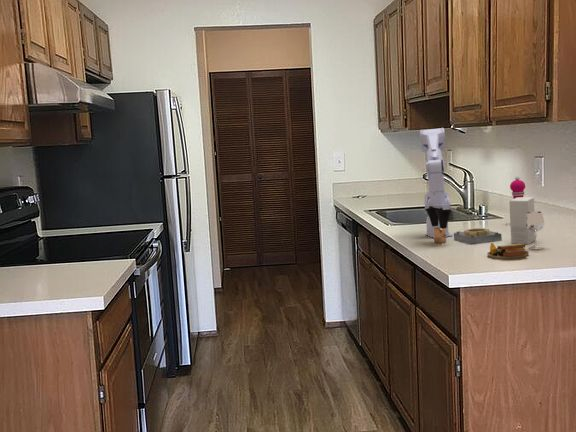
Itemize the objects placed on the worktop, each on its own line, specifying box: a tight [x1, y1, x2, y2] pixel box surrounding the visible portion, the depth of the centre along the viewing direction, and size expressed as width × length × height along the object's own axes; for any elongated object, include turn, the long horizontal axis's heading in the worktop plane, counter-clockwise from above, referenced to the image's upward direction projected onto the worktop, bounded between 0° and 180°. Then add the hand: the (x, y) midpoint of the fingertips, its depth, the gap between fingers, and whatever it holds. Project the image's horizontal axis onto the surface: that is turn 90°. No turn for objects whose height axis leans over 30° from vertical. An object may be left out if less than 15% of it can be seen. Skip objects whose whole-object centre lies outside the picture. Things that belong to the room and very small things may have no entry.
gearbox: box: [453, 227, 503, 245], centre depth 226 cm, size 17×12×4 cm
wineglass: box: [525, 210, 545, 250], centre depth 199 cm, size 6×6×12 cm
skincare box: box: [509, 196, 535, 245], centre depth 211 cm, size 8×7×16 cm
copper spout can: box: [433, 227, 447, 245], centre depth 226 cm, size 4×4×7 cm
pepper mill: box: [509, 176, 526, 199], centre depth 252 cm, size 7×7×20 cm
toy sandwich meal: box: [487, 242, 529, 260], centre depth 191 cm, size 12×14×5 cm
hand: (439, 227), depth 226 cm, fingers open, 7 cm apart
